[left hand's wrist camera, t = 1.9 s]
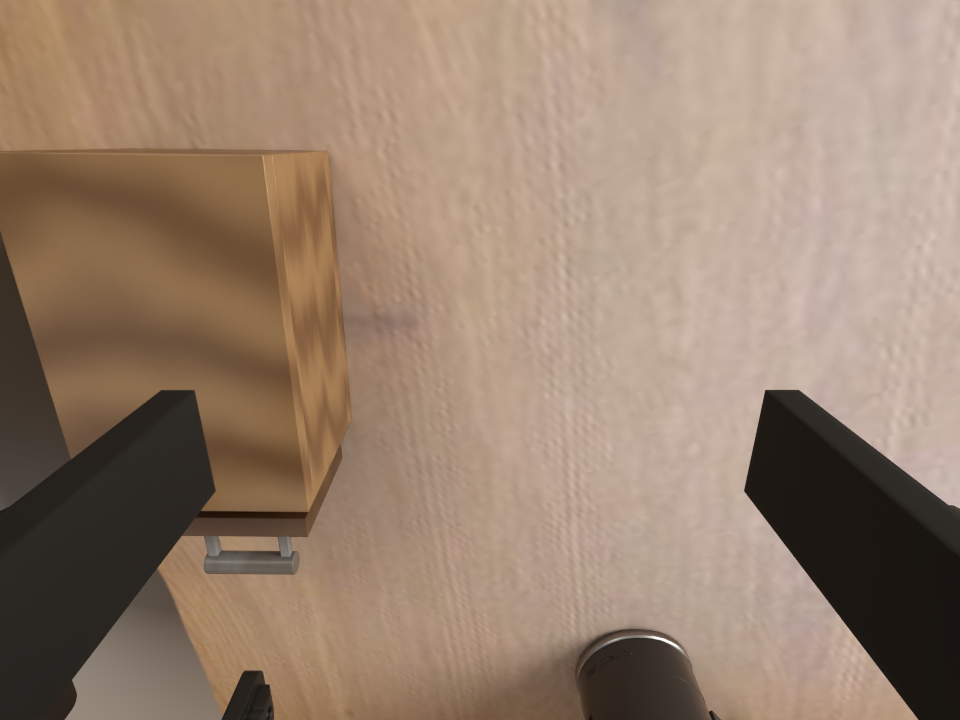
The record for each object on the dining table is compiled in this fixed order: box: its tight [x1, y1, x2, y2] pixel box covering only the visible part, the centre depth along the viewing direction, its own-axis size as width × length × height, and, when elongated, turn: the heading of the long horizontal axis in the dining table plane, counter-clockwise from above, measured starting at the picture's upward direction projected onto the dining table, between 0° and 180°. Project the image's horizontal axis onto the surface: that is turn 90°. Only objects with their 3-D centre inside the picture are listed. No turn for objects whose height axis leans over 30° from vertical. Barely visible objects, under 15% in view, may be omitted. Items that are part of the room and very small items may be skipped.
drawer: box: [182, 444, 342, 575], centre depth 31 cm, size 21×10×8 cm, turn 179°
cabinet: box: [0, 149, 351, 512], centre depth 29 cm, size 17×11×10 cm, turn 179°
